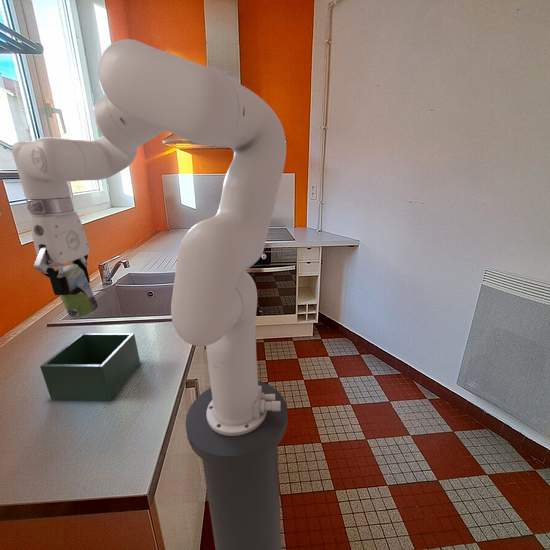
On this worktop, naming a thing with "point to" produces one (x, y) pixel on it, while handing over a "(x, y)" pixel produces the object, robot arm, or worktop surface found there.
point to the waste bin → (91, 367)
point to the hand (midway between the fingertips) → (73, 287)
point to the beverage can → (78, 293)
